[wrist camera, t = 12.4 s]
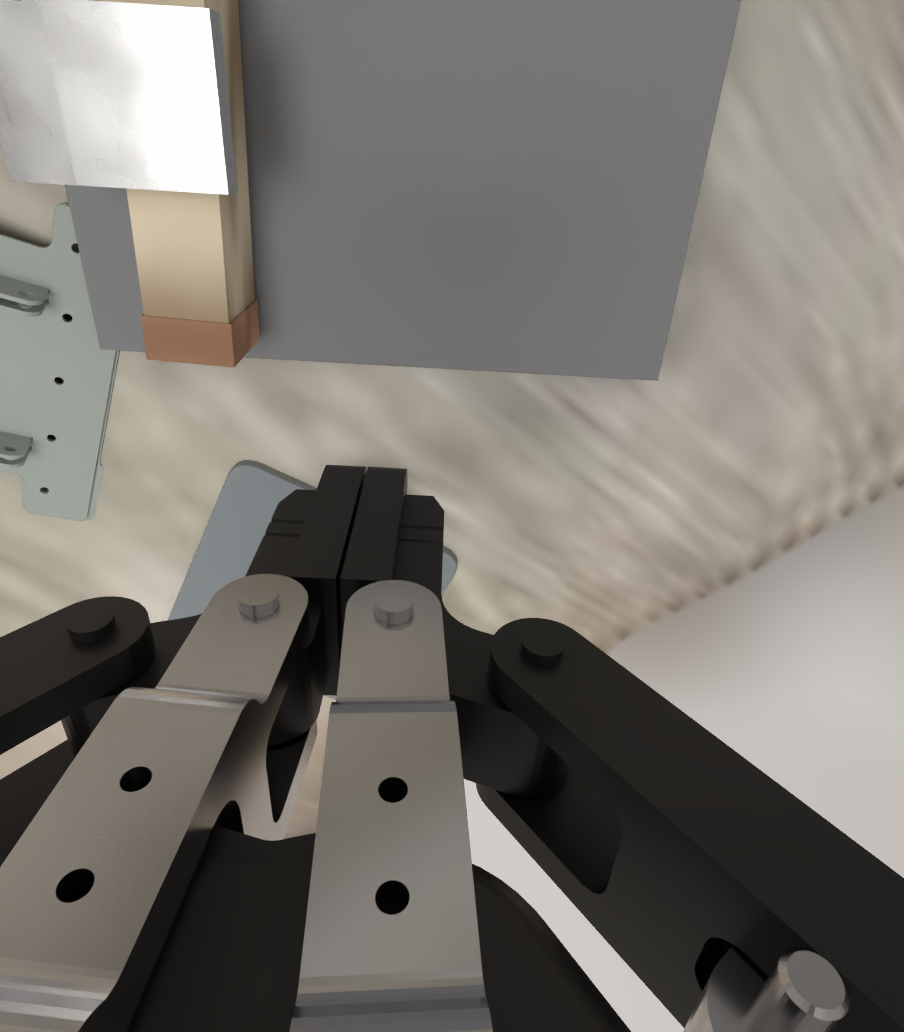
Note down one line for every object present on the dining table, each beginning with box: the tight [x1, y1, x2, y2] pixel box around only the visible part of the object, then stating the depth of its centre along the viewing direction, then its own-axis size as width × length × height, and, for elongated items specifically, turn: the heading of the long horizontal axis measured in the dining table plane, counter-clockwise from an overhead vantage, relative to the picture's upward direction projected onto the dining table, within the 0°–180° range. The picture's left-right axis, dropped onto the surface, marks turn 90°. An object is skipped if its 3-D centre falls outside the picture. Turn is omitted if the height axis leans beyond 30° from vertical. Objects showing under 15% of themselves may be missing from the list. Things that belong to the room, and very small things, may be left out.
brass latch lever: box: [100, 0, 260, 367], centre depth 22 cm, size 19×4×4 cm, turn 175°
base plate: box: [65, 0, 741, 381], centre depth 21 cm, size 22×24×6 cm
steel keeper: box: [0, 0, 238, 195], centre depth 22 cm, size 4×6×6 cm
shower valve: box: [168, 460, 457, 700], centre depth 34 cm, size 12×6×15 cm
